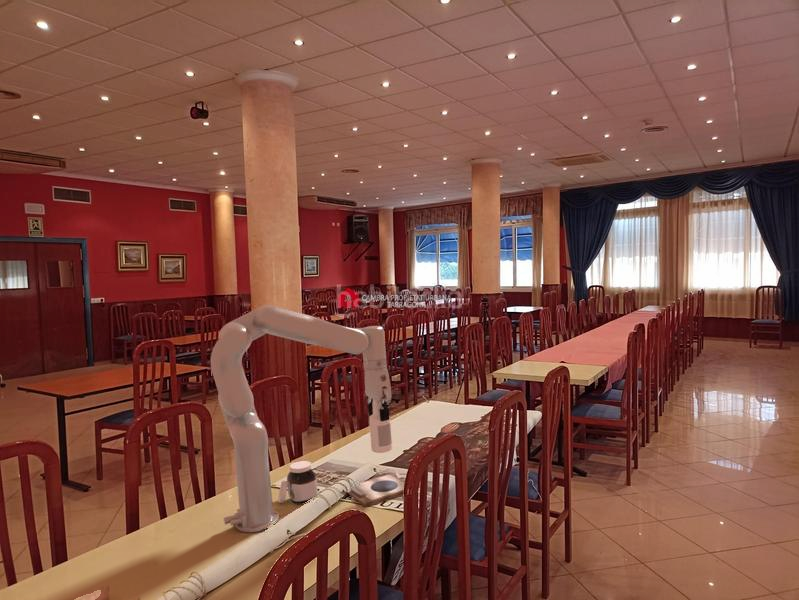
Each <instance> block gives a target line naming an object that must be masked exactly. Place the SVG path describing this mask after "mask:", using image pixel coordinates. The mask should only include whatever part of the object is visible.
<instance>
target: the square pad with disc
mask: <svg viewBox="0 0 799 600" xmlns="http://www.w3.org/2000/svg"><path fill="white" fill-rule="evenodd" d="M363 481H364V482H362V481H361V482H362V483H361V484H360V485H358V486H357V487H354V488H351V491H350V492H349V495H350V496H349V495H348V496H349V497H351V498H352V497H353V498H354V499H355V501H356V500H357V501H358V502H359V504H360V505H361V506H362V507H364V508H367V507H370V506H373V505H376V504H379V503H382V502H386V501H389V500H391V499H395V498H397V497H400V496H401V497H402V496H404V495H403V489H404V481H403V480H401V479H399V478H398V477H396V476H395V475H393V474H391V473H390V472H389V473H385V474H382V475H378V476H375V477H372V478H369V479H366V480H363ZM353 498H352V499H353ZM354 499H353V500H354ZM357 501H356V502H357ZM358 502H357V503H358Z"/></svg>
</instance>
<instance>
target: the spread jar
mask: <svg viewBox="0 0 799 600" xmlns="http://www.w3.org/2000/svg"><path fill="white" fill-rule="evenodd" d="M287 492H288V493H287ZM287 494H288V498H289V499H290V501H291V502H292V503H293V504H296V505H304V504H303V503H305V502H307V501H308V500H310V499H312V498H313V497H315V496H316V497H317V496H318V482H317V475H316V473H315V472H314V470H313V469H312V462H310V461H308V460H302V461H301V460H300V461H296V462H293V463H291V464H290V465H289V472H288V473H287V476H286V480H282V481H281V483H280V488H279V491H278V496H277V497H278V499H277V501H278V503H280V504H284V502H285V500H286V497H287Z"/></svg>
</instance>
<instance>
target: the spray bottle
mask: <svg viewBox="0 0 799 600" xmlns="http://www.w3.org/2000/svg"><path fill="white" fill-rule="evenodd" d="M381 399H384V397H382V398H381ZM384 402H385V401H382V404H383V403H384ZM372 404H373V414H372V415H371V416H368V422H369V431H370V433H369V434H370V435H369V436H370V445H371V446H370V447H371V451H372V452H373V453H376V454H383V453H387V452H390V451H391V450H393V440H392V427H391V418H390V419H389V420H386V421H380V410H379V409H381V408H380V405H379V401H378V400H375V399H373V403H372Z"/></svg>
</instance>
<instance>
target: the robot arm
mask: <svg viewBox="0 0 799 600" xmlns="http://www.w3.org/2000/svg"><path fill="white" fill-rule="evenodd" d="M266 334H267V335H272V336H274V337H275V336H276V337H280V338H284V339H289V340H292V341H296V342H300V343H304V344H309V345H312V346H318V347H324V348H328V349H331V350H336V351H338V352H339V351H340V352H343V353H347V354H352V355H361V354H362V361H363V370H364V393H365V396H366V400H367V404H368V417H370V416H371V415H372V414H373V404H372V403H373V399H375V400H378V401H379V405H380V408H381V409H379V410H380V421H386V420H389V419H390V420H391V416H390V405H391V402H392V386H391V380H390V374H389V371H388V365H387V364H388V361H387V352H386V351H387V350H386V339H385V337H386V336H385V330H384V327H382V326H381V325H369V326H365V327H348V326H343V325H341V324H337V323H334V322H329V321H327V320H324V319H322V318H320V317H316V316H314V315H313V316H312V315H309V314H305V313H303V312H298V311H294V310H290V309H286V308H283V307H280V306H275V305H271V304H264V305H261V306H258V307H257V308H256V309H255V308H254V309H253V310H251V311H249V312H248V313H246V314H243V315H242V316H239V317H237V318H235V319H233V320H231V321H230V322H228V323H226V324H225V325H224V326H222V328H221V329H220V331H219V334H218V340H217V341H216V343H215V344H214V346H213V348H212V352H211V354H210V368H211V373H212V376H213V380H214V382H215V386H216V389H217V392H218V395H217V399H218V404H219V406H220V409H221V412H222V414H223V418H224V421H225V424H226V427H227V429H228V432H229V435H230V436H231V439H232V442H233V448H234V463H235V475H236V486H237V493H238V494H237V495H238V506H239V509H236V512H235V513H234V515H228V516H226V517H223V524H224V525H228V524H230V526H234V525H235V529H236V530H237V531H239V532H242V533H258V532H261V530H262V531H264V530H263V529H265V528H267V527H268V526H270V525H271V524H273V523H275V522H276V521H277V520H278V521H280V514H279V513H278V512H277V511H276V510H274V506H273V496H272V484H271V483H272V482H271V474H270V473H271V472H270V462H269V437H268V432H267V429H266V426H265V425H264V423H263V422H262V421H261V420H260V417H259V416H258V413H257V410H256V407H255V404H254V403H255V402H254V401H255V399H254V395H253V394H254V393H253V392H252V390H251V388H250V386H249V383H248V379H247V377H246V374H245V369H244V367H243V362H242V361H243V356H244V354H245V352H246V351H247V350H248V349H249V348H251V347H250V346H251V344H252V342H253V341H255V340H257V339H258V338H261V337H262V336H264V335H266ZM382 397H383V399H381V398H382ZM382 401H384V403H383V404H382ZM265 530H266V529H265Z"/></svg>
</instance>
